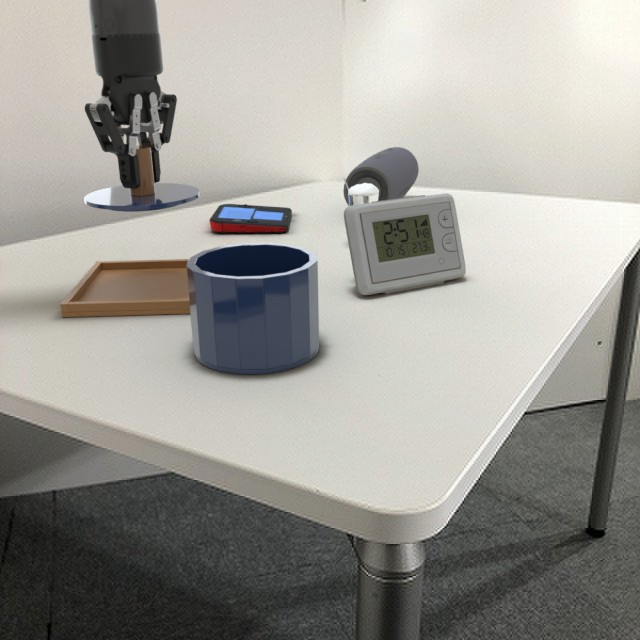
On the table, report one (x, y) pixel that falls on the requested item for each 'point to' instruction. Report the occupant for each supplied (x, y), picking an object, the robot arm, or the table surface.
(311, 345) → the pot
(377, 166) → the bluetooth speaker
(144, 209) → the pot lid
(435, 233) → the digital clock
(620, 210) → the table surface
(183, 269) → the wooden tray
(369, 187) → the milkshake
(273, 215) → the game console
